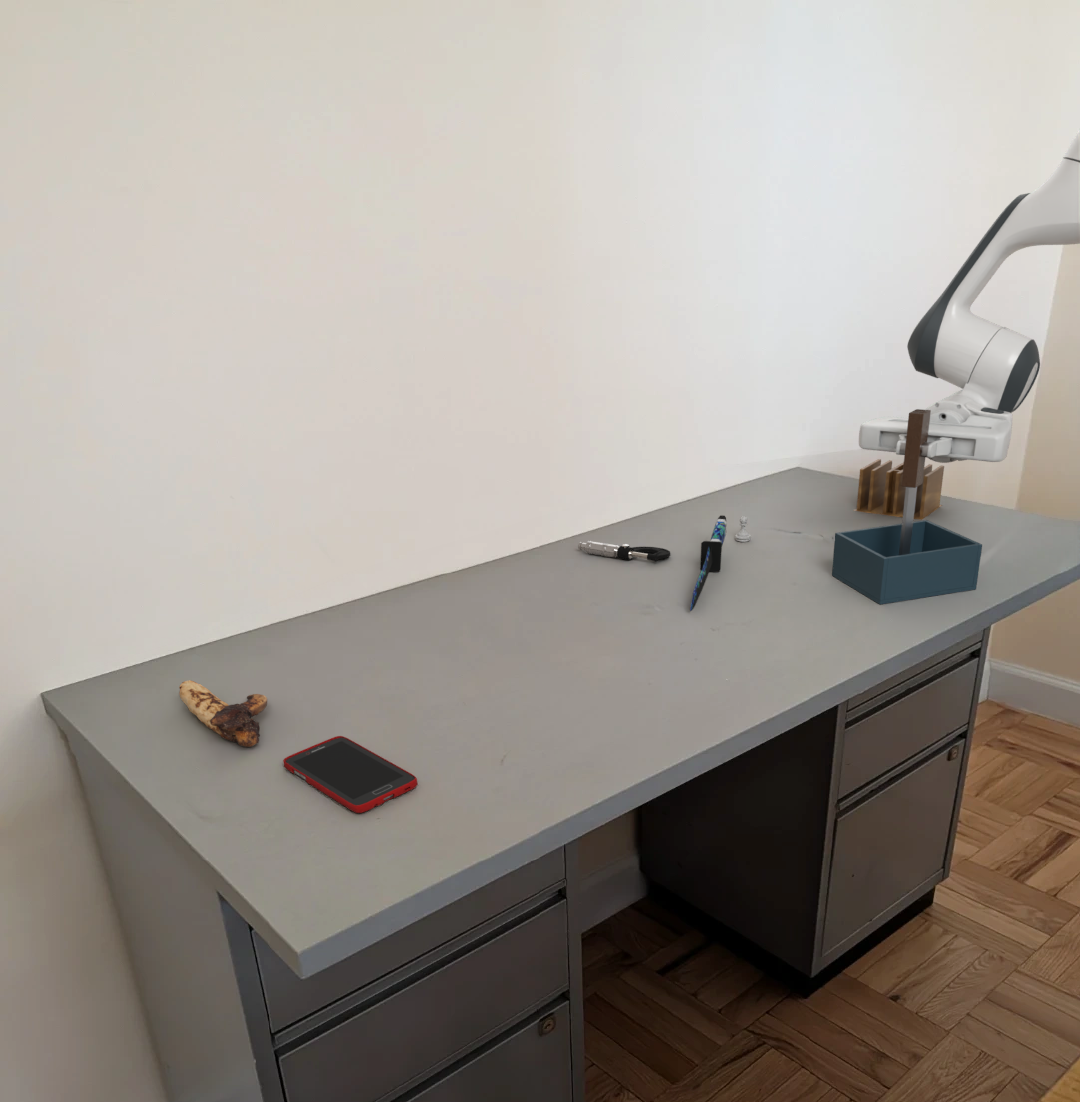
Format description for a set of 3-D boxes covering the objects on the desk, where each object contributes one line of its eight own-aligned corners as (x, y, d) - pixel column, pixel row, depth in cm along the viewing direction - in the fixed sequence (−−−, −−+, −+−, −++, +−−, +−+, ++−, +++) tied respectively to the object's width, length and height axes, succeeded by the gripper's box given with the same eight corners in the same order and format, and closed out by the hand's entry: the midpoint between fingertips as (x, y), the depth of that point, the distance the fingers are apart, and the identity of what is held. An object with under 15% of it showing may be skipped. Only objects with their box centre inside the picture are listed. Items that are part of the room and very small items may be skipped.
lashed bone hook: (305, 736, 118) (237, 686, 131) (300, 699, 116) (232, 651, 129) (227, 762, 113) (165, 707, 126) (221, 724, 111) (158, 671, 123)
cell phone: (358, 817, 101) (357, 808, 101) (280, 767, 111) (279, 759, 110) (421, 786, 106) (420, 778, 105) (341, 741, 115) (340, 733, 115)
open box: (922, 562, 158) (926, 519, 155) (976, 589, 147) (982, 544, 144) (831, 575, 155) (834, 532, 152) (879, 604, 144) (884, 558, 141)
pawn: (733, 541, 172) (734, 518, 170) (736, 537, 174) (736, 513, 172) (749, 542, 171) (750, 518, 169) (751, 537, 173) (752, 514, 172)
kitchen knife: (891, 569, 149) (908, 413, 139) (900, 563, 152) (916, 408, 142) (905, 571, 148) (922, 414, 138) (913, 565, 150) (931, 409, 140)
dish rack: (852, 517, 181) (856, 470, 177) (874, 503, 187) (879, 457, 184) (921, 526, 174) (926, 477, 170) (941, 511, 181) (947, 464, 177)
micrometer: (678, 553, 168) (678, 538, 167) (656, 566, 163) (656, 551, 162) (599, 541, 176) (599, 527, 175) (576, 553, 171) (576, 538, 170)
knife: (717, 538, 170) (717, 512, 167) (736, 539, 169) (736, 513, 166) (672, 625, 146) (670, 597, 144) (693, 627, 145) (692, 598, 143)
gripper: (881, 402, 156) (842, 420, 146) (1024, 413, 144) (993, 433, 134) (877, 445, 158) (839, 465, 149) (1017, 458, 147) (986, 481, 137)
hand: (913, 450), depth 142 cm, fingers closed on kitchen knife, 2 cm apart
